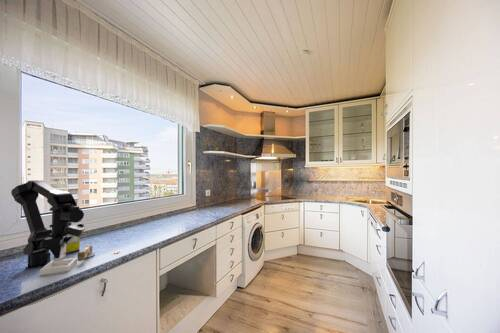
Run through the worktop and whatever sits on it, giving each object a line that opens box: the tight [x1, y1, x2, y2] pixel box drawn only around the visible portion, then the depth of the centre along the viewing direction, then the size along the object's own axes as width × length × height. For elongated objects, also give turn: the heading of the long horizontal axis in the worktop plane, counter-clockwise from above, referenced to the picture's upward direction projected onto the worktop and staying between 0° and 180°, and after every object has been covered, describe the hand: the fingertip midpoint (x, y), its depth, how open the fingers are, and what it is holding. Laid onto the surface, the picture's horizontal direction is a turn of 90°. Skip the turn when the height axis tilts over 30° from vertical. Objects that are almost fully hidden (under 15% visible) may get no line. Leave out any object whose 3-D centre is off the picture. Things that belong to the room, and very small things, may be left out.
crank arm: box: [77, 244, 93, 262], centre depth 104 cm, size 13×3×4 cm, turn 22°
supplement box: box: [66, 234, 81, 255], centre depth 116 cm, size 6×6×11 cm
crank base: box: [85, 250, 120, 259], centre depth 111 cm, size 16×5×1 cm, turn 112°
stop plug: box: [53, 243, 67, 261], centre depth 94 cm, size 4×4×6 cm
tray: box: [39, 257, 78, 277], centre depth 94 cm, size 10×10×2 cm
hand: (59, 256), depth 94 cm, fingers closed on stop plug, 4 cm apart
